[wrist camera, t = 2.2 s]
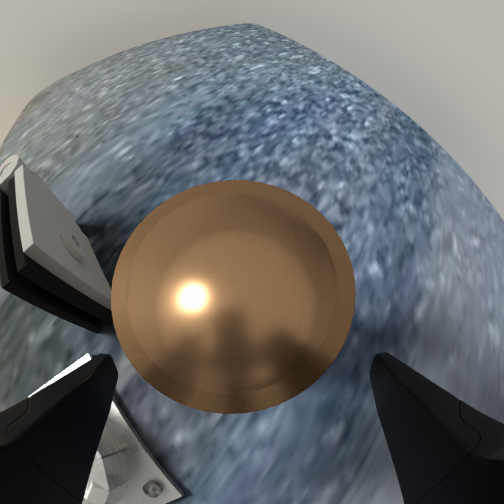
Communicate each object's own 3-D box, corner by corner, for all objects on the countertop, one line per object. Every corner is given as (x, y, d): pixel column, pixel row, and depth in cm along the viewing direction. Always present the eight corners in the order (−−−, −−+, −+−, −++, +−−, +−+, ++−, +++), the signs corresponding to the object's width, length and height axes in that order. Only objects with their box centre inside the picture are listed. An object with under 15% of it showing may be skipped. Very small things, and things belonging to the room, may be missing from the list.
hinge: (31, 242, 22) (-29, 183, 13) (65, 204, 24) (13, 136, 15) (96, 342, 18) (-2, 300, 9) (141, 292, 19) (64, 217, 10)
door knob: (307, 355, 17) (401, 298, 6) (241, 405, 16) (198, 461, 4) (256, 294, 19) (252, 150, 7) (192, 340, 18) (81, 259, 6)
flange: (184, 493, 13) (169, 513, 10) (81, 527, 10) (59, 540, 7) (92, 354, 17) (64, 346, 14) (12, 411, 14) (-15, 409, 11)
